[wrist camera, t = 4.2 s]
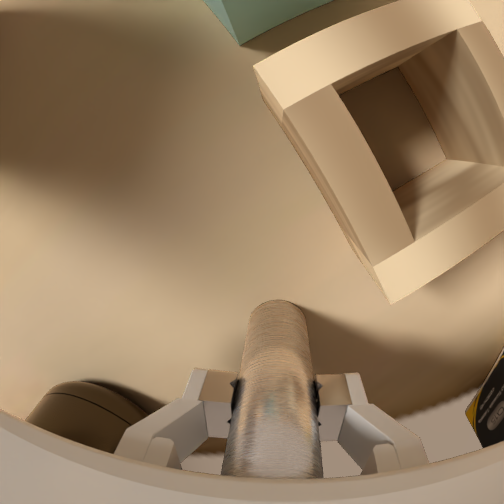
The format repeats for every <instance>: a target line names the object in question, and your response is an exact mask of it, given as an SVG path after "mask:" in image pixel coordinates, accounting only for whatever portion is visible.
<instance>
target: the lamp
mask: <svg viewBox="0 0 504 504" xmlns="http://www.w3.org/2000/svg"><path fill="white" fill-rule="evenodd" d="M147 416H149V415H148V414H147V413H146V412H145V411H143V410H142V409H141V408H140V407H138V406H137V405H136V404H134V403H133V402H131V401H130V400H128V399H127V398H125V397H123V396H122V395H120V394H118V393H116V392H114V391H112V390H109V389H107V388H105V387H102V386H99V385H96V384H92V383H87V382H80V381H70V382H64V383H61V384H58V385H56V386H55V387H53V388H52V389H50V390H49V391H48V392H47V393H46V395H45V396H44V397H43V398H42V400H41V401H40V402H39V403H38V405H37V406H36V407H35V408H34V410H33V411H32V412H31V413H30V415H29V416H28V417H27V418H26V420H25V421H26V422H28V423H30V424H33V425H35V426H37V427H39V428H42V429H44V430H46V431H49V432H51V433H54V434H56V435H59V436H61V437H64V438H66V439H69V440H72V441H74V442H77V443H80V444H83V445H86V446H89V447H92V448H95V449H98V450H101V451H105V452H108V453H111V454H114V452H115V450H116V448H117V446H118V444H119V442H120V440H121V438H122V437H123V435H124V433H125V431H126V429H127V428H129V427H130V426H132V425H134V424H136V423H137V422H139V421H141V420H142V419H144V418H146V417H147Z"/></svg>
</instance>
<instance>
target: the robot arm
mask: <svg viewBox="0 0 504 504" xmlns="http://www.w3.org/2000/svg"><path fill="white" fill-rule="evenodd" d="M237 385H238V372H231V371H221V370H211V369H209V370H208V369H200V368H194V369H193V370H192V373H191V375H190V378H189V380H188V383H187V386H186V388H185V391H184V393H183V396H182V398H177V399H175V400H173V401H172V402H170V403H169V404H167V405H165V406H164V407H162V408H161V409H159V410H157V411H156V412H154V413H152V414H151V415H149V416H147V417H146V418H144V419H142V420H141V421H139V422H137V423H136V424H134V425H132V426H130V427H129V428H127V429H126V431H125V433H124V435H123V437H122V438H121V440H120V442H119V444H118V446H117V448H116V450H115V452H114V454H111V453H108V452H105V451H101V450H98V449H95V448H92V447H89V446H86V445H83V444H80V443H77V442H74V441H72V440H69V439H66V438H64V437H61V436H59V435H56V434H54V433H51V432H49V431H46V430H44V429H42V428H39V427H37V426H35V425H33V424H30V423H28V422H26V421H24V420H22V419H20V418H18V417H16V416H14V415H12V414H10V413H8V412H6V411H4V410H2V409H0V504H504V441H502V442H499V443H497V444H494V445H491V446H488V447H485V448H483V449H480V450H477V451H474V452H470V453H467V454H464V455H460V456H457V457H453V458H450V459H446V460H442V461H438V462H434V463H430V464H429V461H428V458H427V456H426V453H425V450H424V447H423V445H422V442H421V439H420V437H418V436H417V435H415V434H414V433H412V432H411V431H410V430H408V429H407V428H406V427H404V426H403V425H401V424H400V423H399V422H397V421H396V420H394V419H393V418H392V417H390V416H389V415H388V414H386V413H385V412H384V411H382V410H381V409H379V408H378V407H377V406H375V405H374V404H369V403H368V400H367V396H366V393H365V390H364V387H363V383H362V380H361V377H360V374H359V373H358V372H356V373H344V374H315V377H314V388H315V396H316V406H317V415H318V424H319V434H320V441H338V443H339V444H340V445H341V446H342V447H343V449H344V450H345V451H346V452H347V453H348V454H349V455H350V456H351V457H352V459H353V460H354V461H355V462H356V463H357V464H358V465H359V466H360V467H361V469H362V470H363V471H362V473H361V475H358V476H348V477H336V478H319V479H264V478H246V477H234V476H223V475H214V474H206V473H199V472H192V471H186V470H182V468H181V464H180V463H181V462H182V461H183V460H185V459H186V458H187V457H188V456H189V455H190V454H191V453H192V452H194V451H195V450H196V449H197V448H198V447H199V446H200V445H201V444H202V443H203V442H204V441H205V440H207V439H208V437H217V438H228V433H229V428H230V423H231V417H232V412H233V406H234V401H235V395H236V390H237Z"/></svg>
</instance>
